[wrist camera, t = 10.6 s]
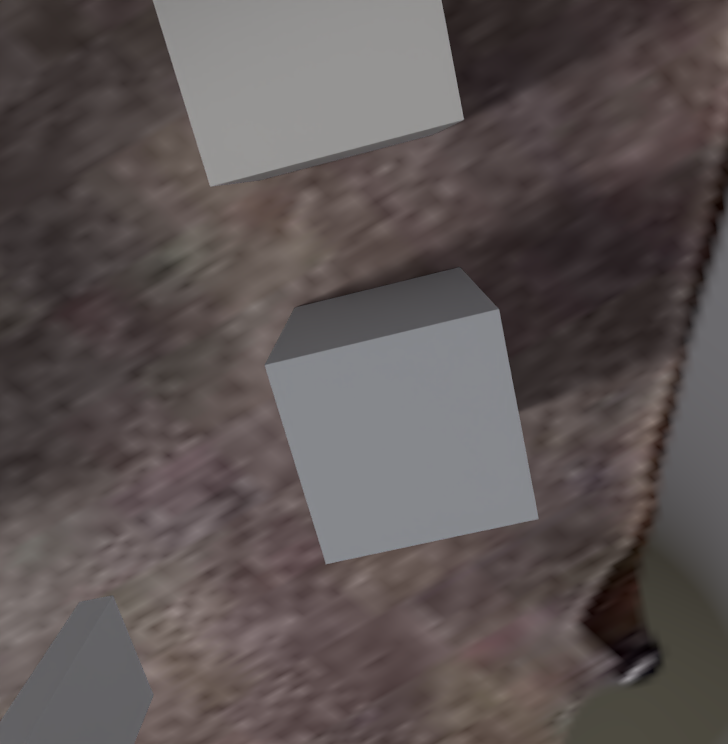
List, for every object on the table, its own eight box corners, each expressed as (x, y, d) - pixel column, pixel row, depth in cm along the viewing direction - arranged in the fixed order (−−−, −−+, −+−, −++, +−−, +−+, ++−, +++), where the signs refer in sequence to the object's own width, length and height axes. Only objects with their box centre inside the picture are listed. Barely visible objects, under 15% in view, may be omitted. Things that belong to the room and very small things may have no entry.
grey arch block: (337, 457, 35) (326, 564, 26) (294, 307, 33) (264, 365, 23) (491, 422, 35) (538, 518, 25) (460, 267, 32) (499, 309, 23)
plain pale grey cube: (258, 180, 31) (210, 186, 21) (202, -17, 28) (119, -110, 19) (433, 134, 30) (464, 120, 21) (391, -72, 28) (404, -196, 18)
